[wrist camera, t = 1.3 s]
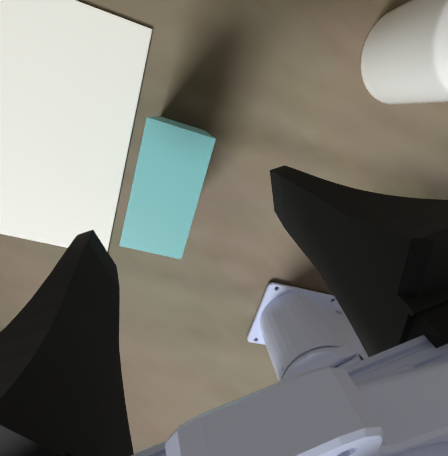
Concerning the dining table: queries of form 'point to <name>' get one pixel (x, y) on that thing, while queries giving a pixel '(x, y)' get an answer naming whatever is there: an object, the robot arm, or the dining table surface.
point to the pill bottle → (408, 54)
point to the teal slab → (166, 186)
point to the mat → (65, 116)
